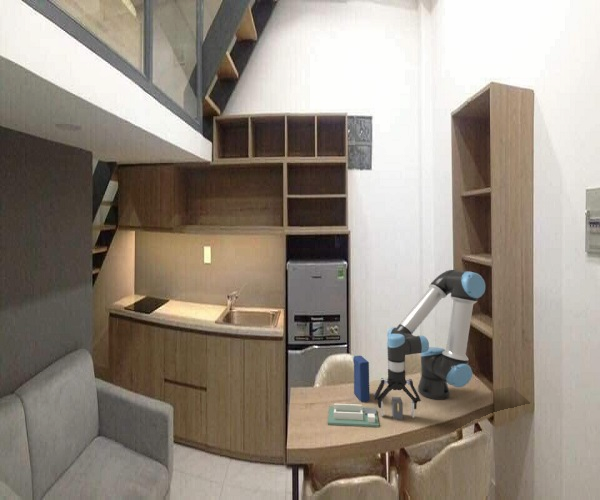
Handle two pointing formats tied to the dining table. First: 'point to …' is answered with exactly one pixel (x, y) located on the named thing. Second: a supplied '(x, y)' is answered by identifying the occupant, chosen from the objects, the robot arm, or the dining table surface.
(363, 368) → the tall blue block
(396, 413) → the grey upright block
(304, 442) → the dining table surface
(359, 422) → the header board
